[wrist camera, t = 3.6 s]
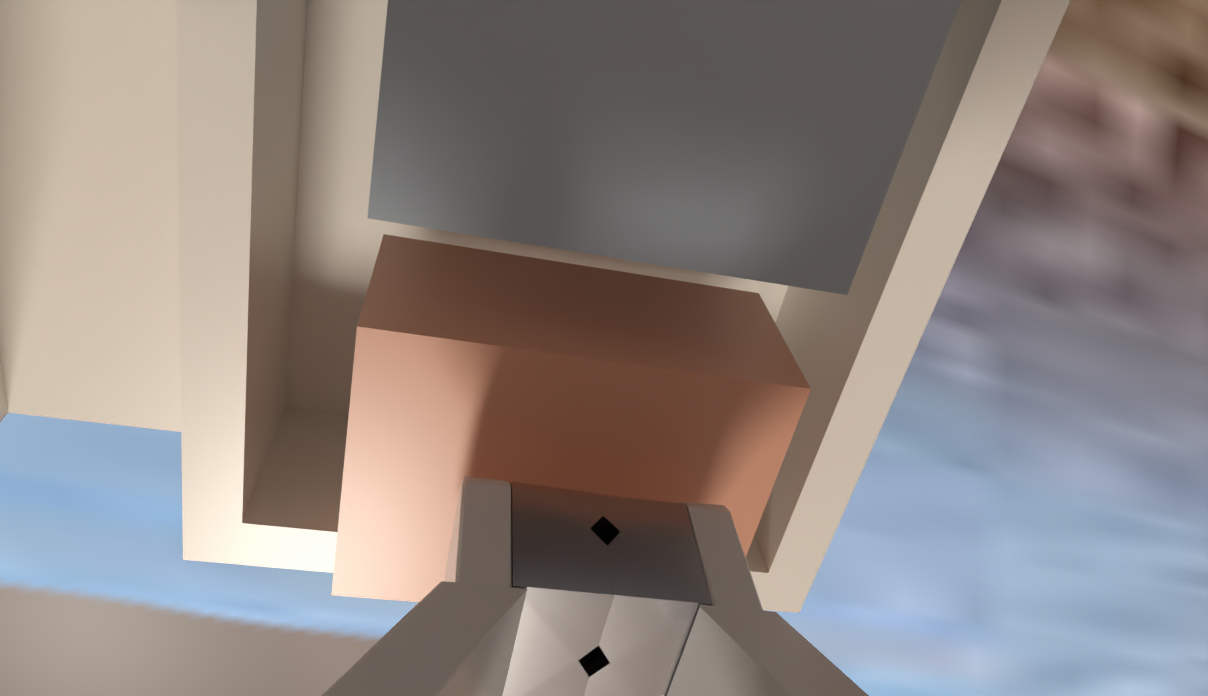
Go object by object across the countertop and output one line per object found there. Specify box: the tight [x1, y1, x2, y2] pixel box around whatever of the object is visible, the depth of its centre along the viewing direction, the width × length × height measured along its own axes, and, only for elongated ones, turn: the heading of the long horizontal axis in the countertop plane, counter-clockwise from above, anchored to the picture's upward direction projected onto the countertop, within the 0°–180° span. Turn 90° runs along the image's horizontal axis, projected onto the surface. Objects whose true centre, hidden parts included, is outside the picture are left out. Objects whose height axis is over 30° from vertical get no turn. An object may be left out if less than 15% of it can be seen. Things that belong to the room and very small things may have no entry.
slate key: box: [367, 0, 961, 295], centre depth 9 cm, size 5×4×2 cm
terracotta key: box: [332, 234, 811, 602], centre depth 12 cm, size 5×4×2 cm
